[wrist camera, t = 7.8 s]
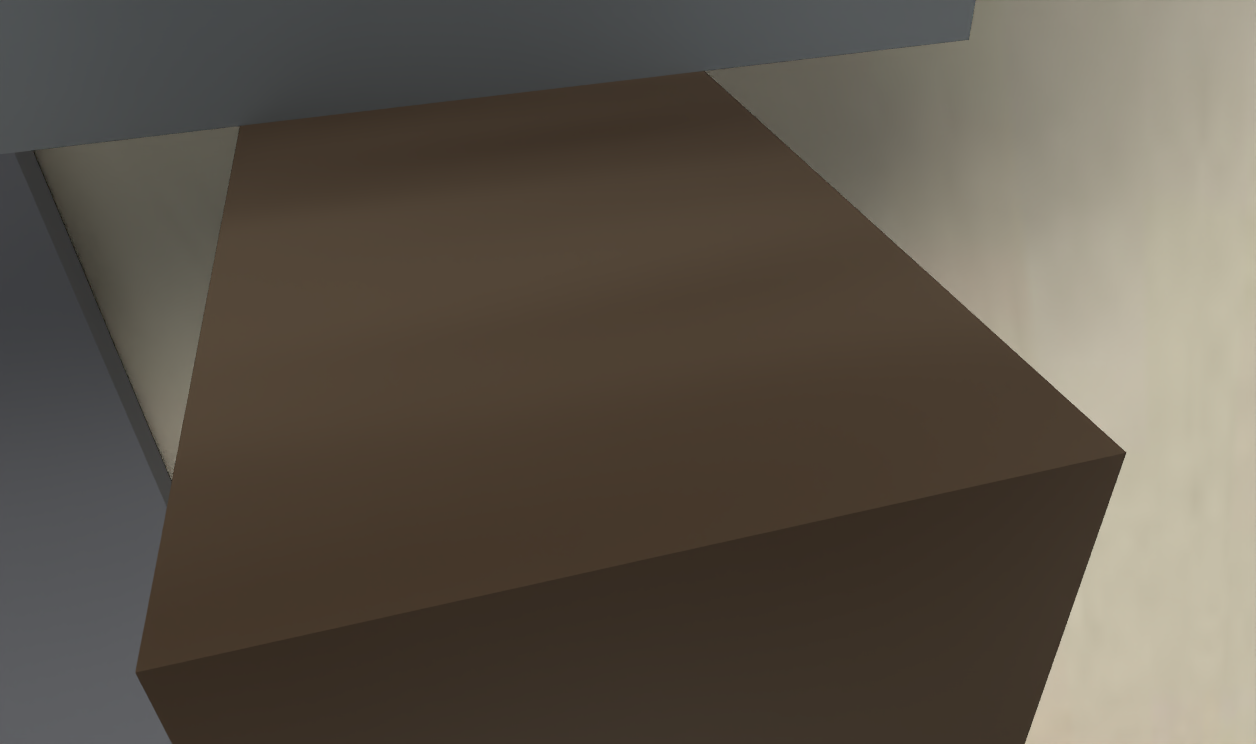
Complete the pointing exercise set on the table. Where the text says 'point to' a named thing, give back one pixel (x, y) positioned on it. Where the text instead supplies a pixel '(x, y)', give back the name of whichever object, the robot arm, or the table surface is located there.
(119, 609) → the grey rectangular plate
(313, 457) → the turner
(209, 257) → the table surface
